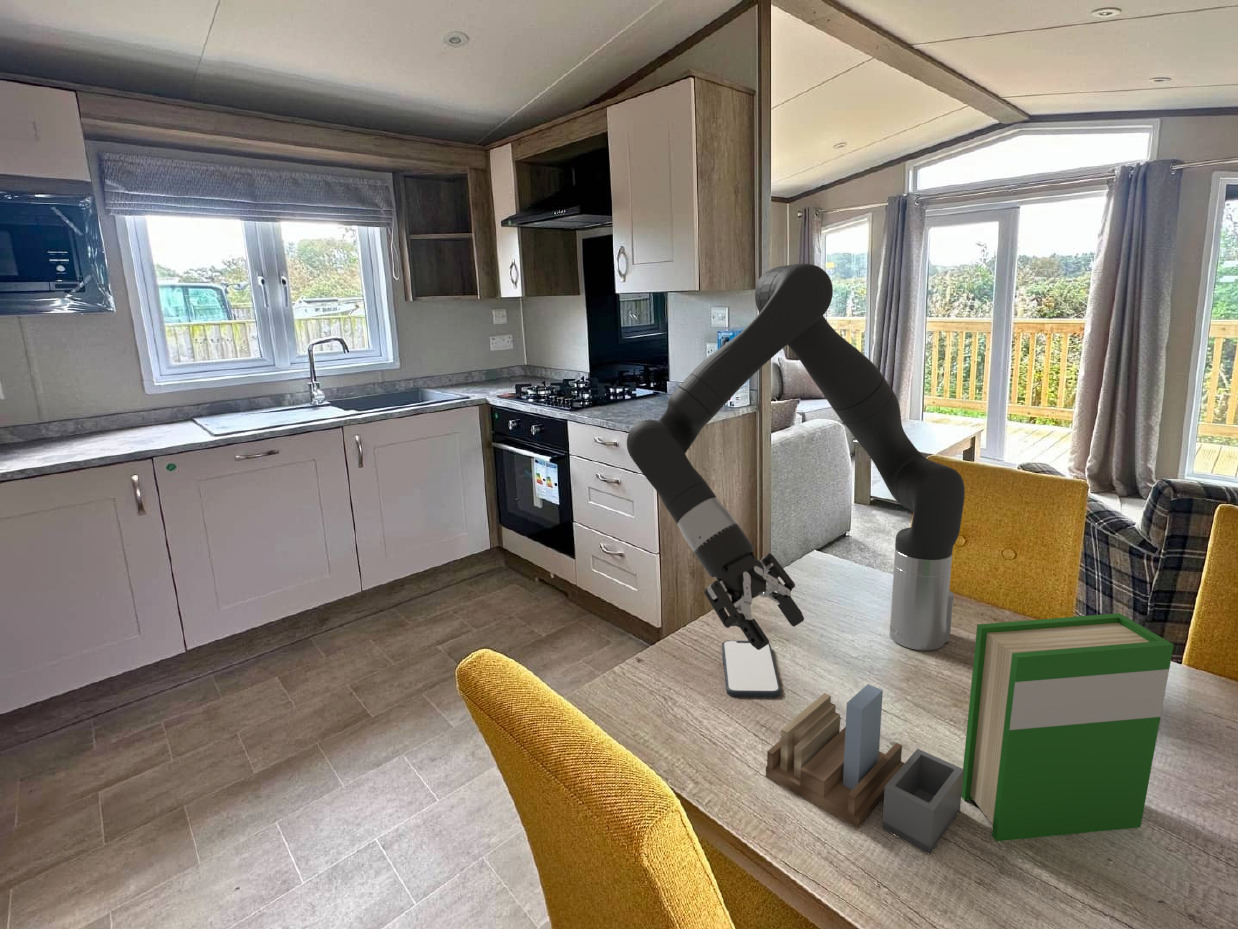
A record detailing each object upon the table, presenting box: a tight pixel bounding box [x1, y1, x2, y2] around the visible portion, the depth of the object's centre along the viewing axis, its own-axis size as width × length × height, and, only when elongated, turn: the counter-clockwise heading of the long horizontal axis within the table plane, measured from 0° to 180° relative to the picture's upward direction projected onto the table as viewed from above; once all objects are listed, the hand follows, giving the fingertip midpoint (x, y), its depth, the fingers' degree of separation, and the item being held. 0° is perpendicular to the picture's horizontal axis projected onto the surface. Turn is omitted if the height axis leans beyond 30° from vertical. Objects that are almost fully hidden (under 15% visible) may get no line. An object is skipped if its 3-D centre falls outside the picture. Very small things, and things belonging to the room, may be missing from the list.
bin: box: [881, 748, 964, 855], centre depth 81 cm, size 6×9×6 cm, turn 134°
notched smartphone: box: [721, 640, 782, 699], centre depth 115 cm, size 9×2×16 cm
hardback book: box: [961, 612, 1175, 843], centre depth 79 cm, size 18×7×24 cm, turn 94°
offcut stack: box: [780, 692, 841, 778], centre depth 91 cm, size 3×11×6 cm, turn 134°
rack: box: [765, 726, 905, 829], centre depth 89 cm, size 13×13×4 cm
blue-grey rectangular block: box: [843, 684, 884, 790], centre depth 85 cm, size 2×6×12 cm, turn 134°
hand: (782, 634), depth 91 cm, fingers open, 8 cm apart
